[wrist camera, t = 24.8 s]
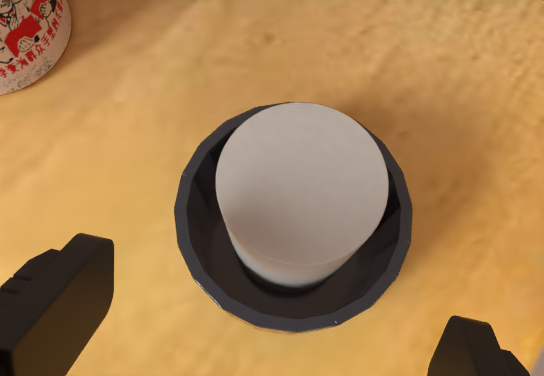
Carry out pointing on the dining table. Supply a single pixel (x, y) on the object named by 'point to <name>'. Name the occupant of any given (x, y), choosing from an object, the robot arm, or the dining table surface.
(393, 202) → the dark round open container
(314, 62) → the dining table surface
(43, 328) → the robot arm
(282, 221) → the plain white cylinder
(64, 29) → the teacup with lid
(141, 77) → the dining table surface
